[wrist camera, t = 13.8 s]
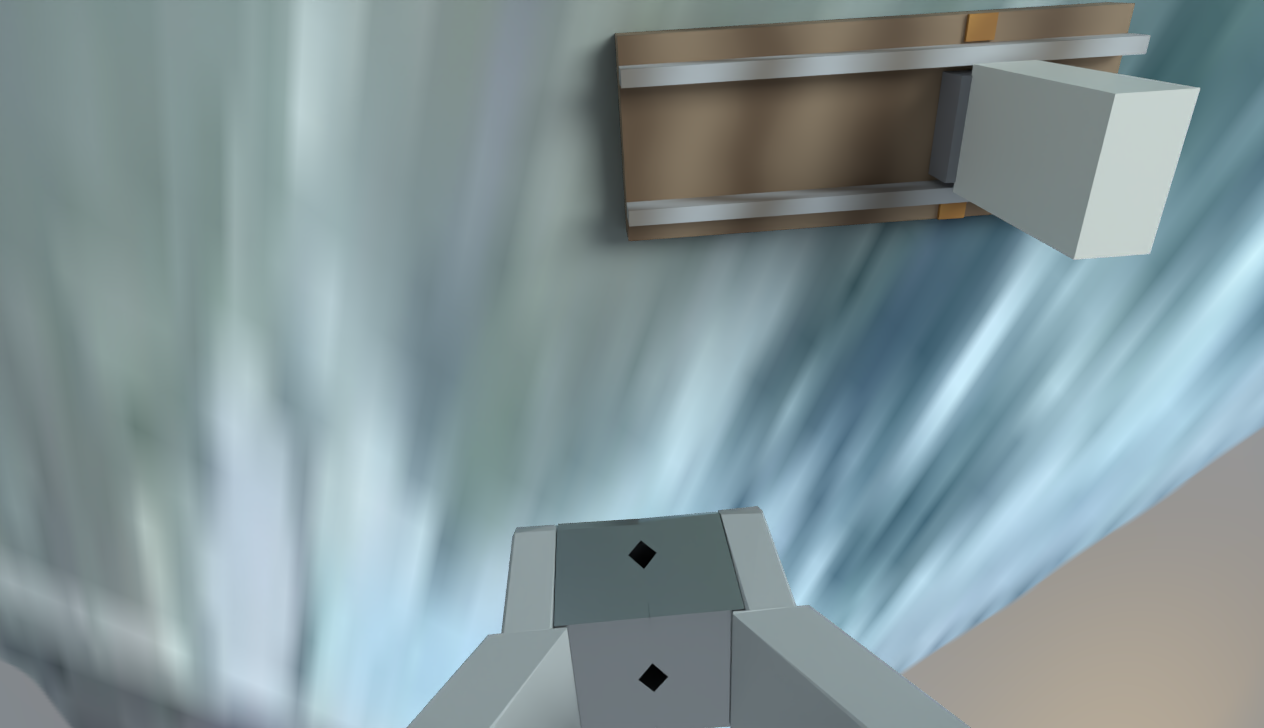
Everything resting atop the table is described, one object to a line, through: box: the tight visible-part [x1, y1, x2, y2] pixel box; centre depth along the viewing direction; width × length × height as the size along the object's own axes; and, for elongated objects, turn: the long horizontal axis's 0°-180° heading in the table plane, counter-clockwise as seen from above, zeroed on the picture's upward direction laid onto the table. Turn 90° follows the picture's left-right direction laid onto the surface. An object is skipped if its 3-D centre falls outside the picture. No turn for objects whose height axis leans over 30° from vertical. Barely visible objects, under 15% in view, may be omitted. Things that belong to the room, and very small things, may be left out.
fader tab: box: [928, 60, 1200, 260], centre depth 31 cm, size 4×6×12 cm, turn 3°
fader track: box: [615, 2, 1151, 241], centre depth 37 cm, size 25×10×4 cm, turn 93°
